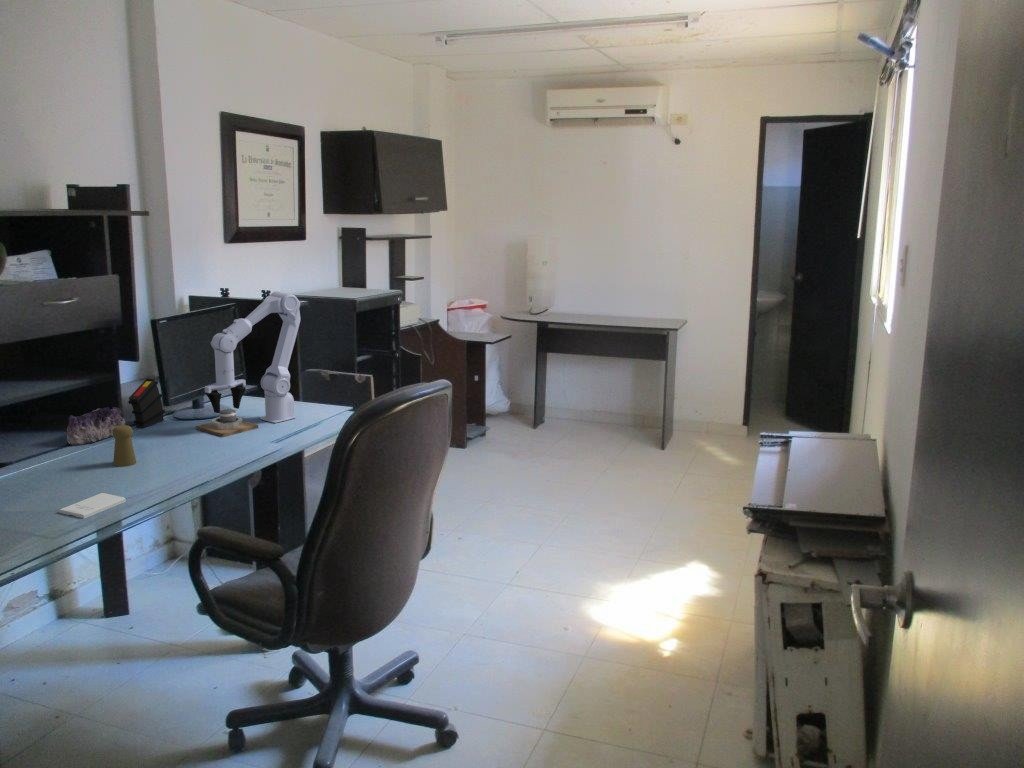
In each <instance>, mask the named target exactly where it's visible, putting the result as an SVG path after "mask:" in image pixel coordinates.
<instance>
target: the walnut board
mask: <svg viewBox="0 0 1024 768" xmlns="http://www.w3.org/2000/svg"><path fill="white" fill-rule="evenodd" d="M242 423H243V425H242V426H241V427H239V428H235V429H227V430H223V429H215V428H213V427H212V421H211V422H208V423H204V424H200V425H196V426H195V430H198V431H201V432H204V433H209V434H211V435H216V436H218V437H222V438H224V437H229V436H231V435H235V434H240V433H244V432H248V431H252V430H256V429H259V424H256V423H252V422H247V421H245V420H242Z"/></svg>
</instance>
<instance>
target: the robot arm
mask: <svg viewBox="0 0 1024 768" xmlns="http://www.w3.org/2000/svg"><path fill="white" fill-rule="evenodd" d="M300 307H301V302H300V300H299V298H298V297H297V296H296V295H294V294H293V293H285V292H281V291H278V290H277V291H276V290H275V291H273V292H272V293H270V294H269V295H267V296H266V297H265V299H264V300H263V301H262V302H261V303H260V304H259V305H258V306H257V307H256V308H255V309H253V311H251V312H250V313H249V314H248V315H247V316H246V317H245V318H242V317H241V318H238V319H237V318H235V319H234V320H233V323H231V324H230V325H229V326H228V327H226V328H224V329H222V332H218V333H216V334H214V336H213V337H212V339H211V341H210V346H211V348H212V349H213V351H214V362H215V363H214V365H215V368H214V369H215V383H211V384H209V385H205V386H204V393H205V395H206V397H207V398H208V399H209V401H210V404H211V406H212V409H213V412H214V413H215V414H220V411H221V398H222V396H223V395H222V393H220V392H219V391H223V390H228V389H230V392H231V396H232V406H233V409H236V410H237V409H239V410H240V406H241V402H242V401H241V400H242V398H243V396H244V394H245V391H246V386H247V385H246V384H247V382H246V379H243V378H241V379H235V361H234V351H235V350H236V348H237V345H238V344H239V342H240V341H242V340H243V339H244V338H245V337H247V336H248V335H249V334H250V333H252V329H253V326H254V325H255V324H257V323H259V322H260V321H262V320H263V319H264V318H265V317H267V316H268V315H270V314H276V313H277V314H278V315H279V317H280V319H281V320H282V326H281V328H280V332H279V335H278V336H279V337H278V340H277V344H276V347H275V351H274V355H273V358H272V362H271V365H270V366H269V367H267V368H266V370H265V373H264V375H262V377H261V378H260V386H261V388H262V390H264V405H265V407H264V408H265V411H264V412H265V416H262V417H259V418H260V420H262V421H265V422H270V423H273V424H276V423H280V422H285V421H289V420H292V419H296V417H297V416H295V399H294V396H293V395H292V393H291V392H289V391H290V389H291V382H290V381H291V374H290V372H289V370H288V369H289V364H290V361H291V357H292V354H293V350H294V347H295V343H296V339H297V336H298V332H299V327H300V323H301V313H300V312H301V311H300Z"/></svg>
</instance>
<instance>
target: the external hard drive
mask: <svg viewBox="0 0 1024 768" xmlns="http://www.w3.org/2000/svg"><path fill="white" fill-rule="evenodd" d="M126 502H127V499H126V498H125V497H123V496H120V495H116V494H115V495H114V494H110V493H105V492H101V493H97V494H96V495H92V496H90V497H88V498H85V499H83V500H80V501H78V502H75V503H73V504H70V505H68V506H65V507H62V508H60V509H58V514H59V513H60V514H64V515H69V516H73V517H77V518H81V519H86V518H88V517H90V516H91V517H92V516H94V515H96V514H98V513H101V512H104V511H106V510H109V509H111V508H114V507H116V506H119V505H120V504H121V505H122V504H124V503H126Z"/></svg>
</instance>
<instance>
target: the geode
mask: <svg viewBox="0 0 1024 768" xmlns="http://www.w3.org/2000/svg"><path fill="white" fill-rule="evenodd" d="M121 425H126V419H125V418H124V417H122V409H121V408H120V407H117V406H114V407H112V408H110V406H107V407H104V408H97V409H94V410H92V411H91V412H87V413H84V414H82V415H80V416H74V415H72V414H70V415H69V417H68V426H67V428H66V442H67V441H69V442H70V445H69V446H71V447H79V446H85V445H86V446H87V445H90V444H91V445H92V444H95V442H98V441H101V440H104V439H107V438H110V437H114V436H113V429H114V428H115V427H117V426H121Z"/></svg>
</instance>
